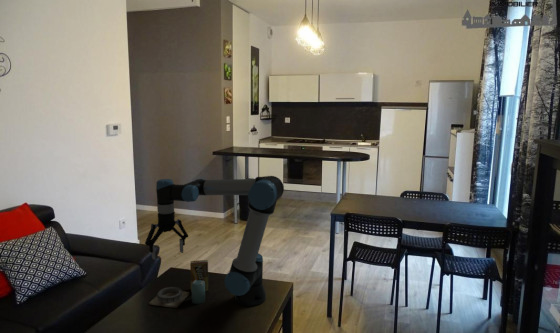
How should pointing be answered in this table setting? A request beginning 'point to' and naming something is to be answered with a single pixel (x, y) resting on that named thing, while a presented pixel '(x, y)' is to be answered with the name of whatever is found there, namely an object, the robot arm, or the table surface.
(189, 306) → the table surface
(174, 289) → the square base with ring
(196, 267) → the candy box
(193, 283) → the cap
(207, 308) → the table surface
